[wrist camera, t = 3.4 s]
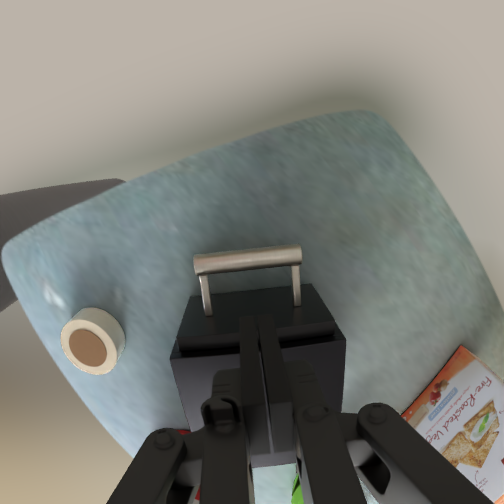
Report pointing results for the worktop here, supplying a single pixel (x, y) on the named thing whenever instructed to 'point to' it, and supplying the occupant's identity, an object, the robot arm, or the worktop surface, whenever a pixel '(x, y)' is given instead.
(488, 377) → the cracker box
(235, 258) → the black pull-out drawer
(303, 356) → the box
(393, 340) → the worktop surface
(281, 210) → the worktop surface
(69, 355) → the cream cylinder brown top
